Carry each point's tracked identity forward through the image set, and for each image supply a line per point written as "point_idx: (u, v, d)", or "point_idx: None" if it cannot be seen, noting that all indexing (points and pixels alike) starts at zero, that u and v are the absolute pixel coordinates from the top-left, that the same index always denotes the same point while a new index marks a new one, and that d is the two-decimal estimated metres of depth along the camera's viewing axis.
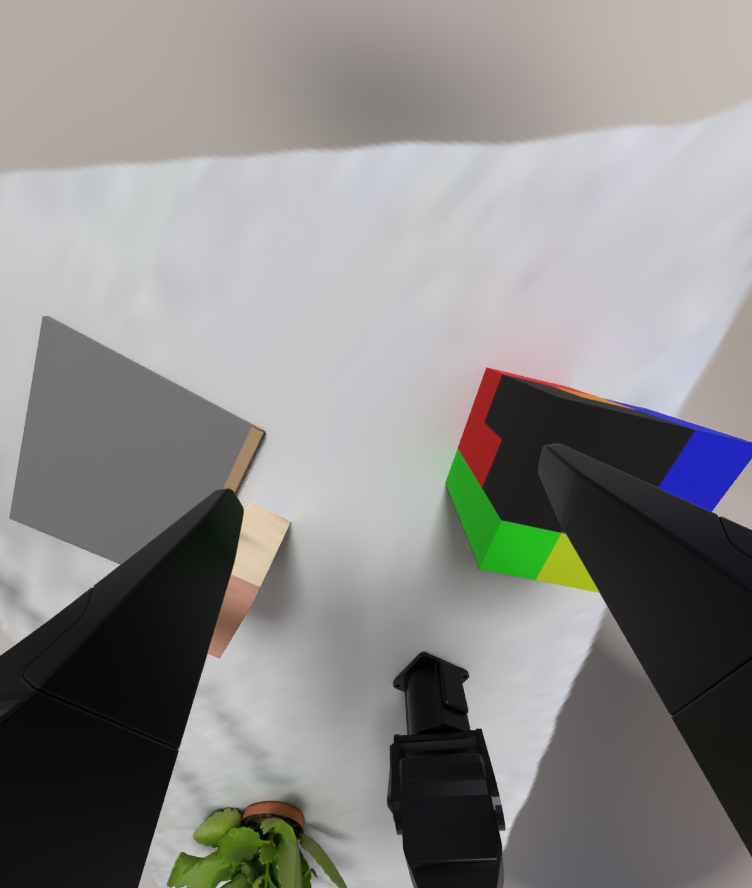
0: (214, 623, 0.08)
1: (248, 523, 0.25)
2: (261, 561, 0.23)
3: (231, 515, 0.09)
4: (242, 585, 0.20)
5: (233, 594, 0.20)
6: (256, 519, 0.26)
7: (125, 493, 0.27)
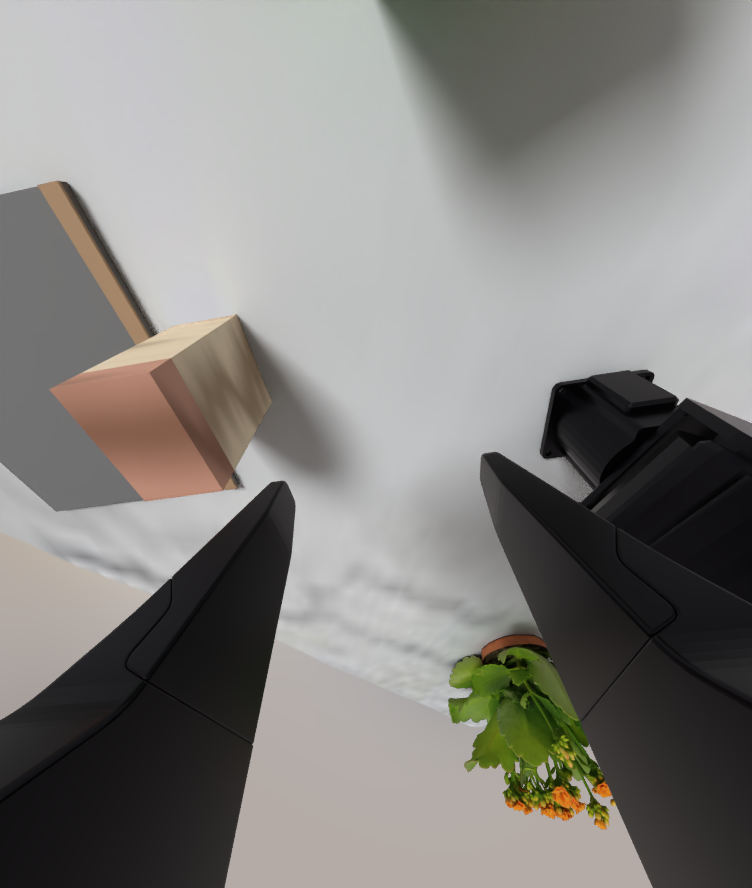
0: (277, 617, 0.07)
1: (166, 334, 0.17)
2: (180, 344, 0.14)
3: (287, 508, 0.09)
4: (138, 366, 0.12)
5: (118, 375, 0.11)
6: (180, 329, 0.17)
7: None
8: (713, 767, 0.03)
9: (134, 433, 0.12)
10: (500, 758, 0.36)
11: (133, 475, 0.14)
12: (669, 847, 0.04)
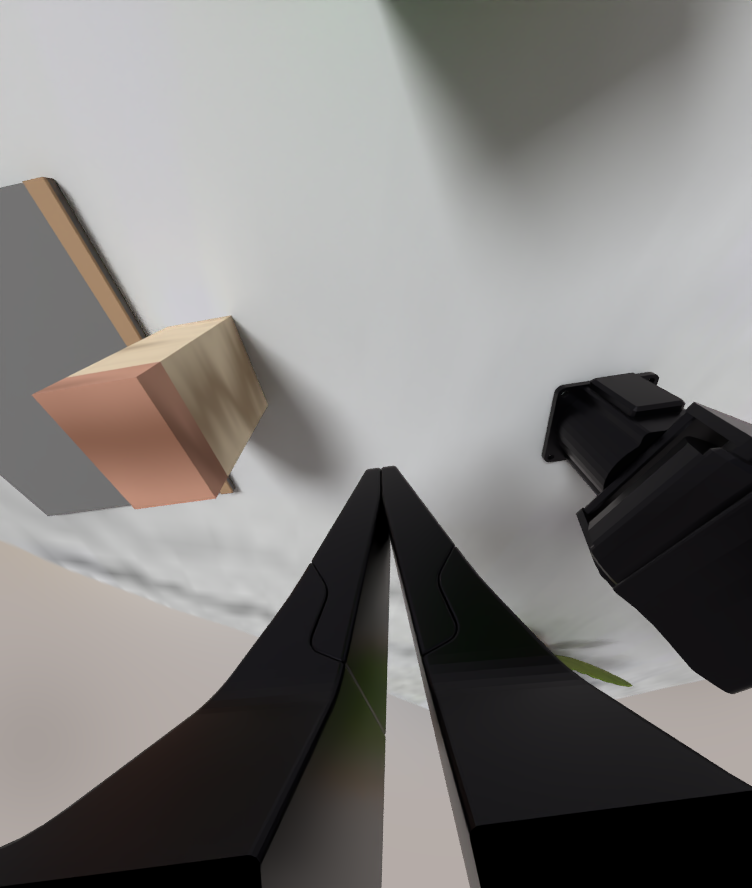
0: (388, 606, 0.07)
1: (157, 336, 0.16)
2: (170, 347, 0.13)
3: None
4: (125, 370, 0.11)
5: (104, 380, 0.11)
6: (172, 331, 0.17)
7: None
8: (449, 782, 0.03)
9: (122, 439, 0.12)
10: None
11: (122, 483, 0.13)
12: (464, 855, 0.04)
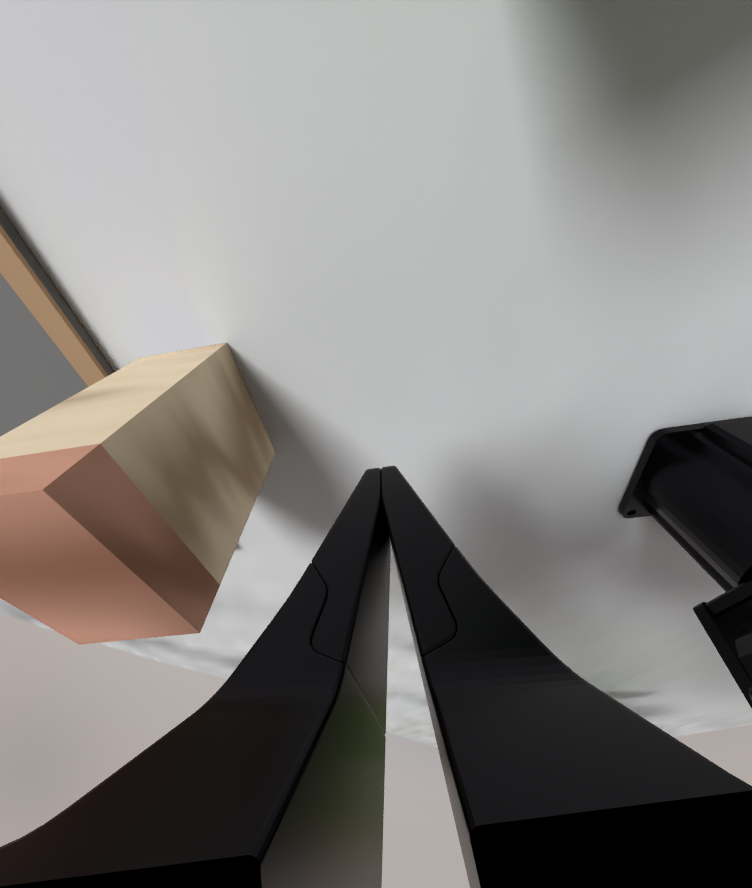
0: (388, 606, 0.07)
1: (121, 376, 0.11)
2: (129, 405, 0.09)
3: None
4: (38, 461, 0.07)
5: None
6: (144, 367, 0.12)
7: None
8: (449, 781, 0.03)
9: (39, 570, 0.07)
10: None
11: (52, 618, 0.09)
12: (464, 855, 0.04)
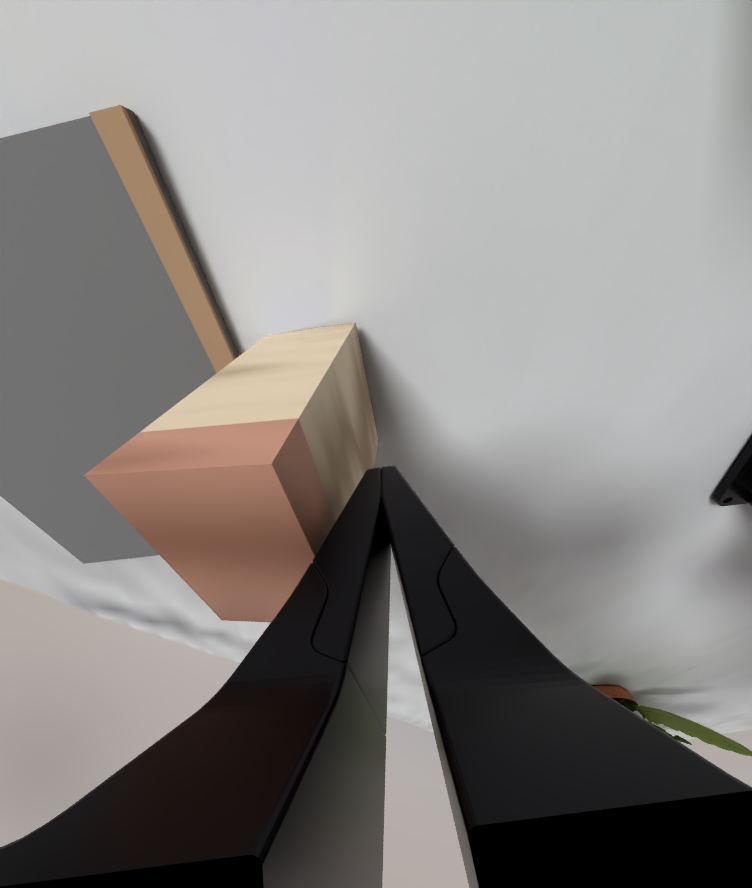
0: (388, 606, 0.07)
1: (261, 353, 0.11)
2: (297, 380, 0.08)
3: None
4: (241, 433, 0.06)
5: (209, 459, 0.06)
6: (279, 344, 0.12)
7: None
8: (448, 781, 0.03)
9: (223, 546, 0.07)
10: None
11: (210, 593, 0.08)
12: (463, 855, 0.04)
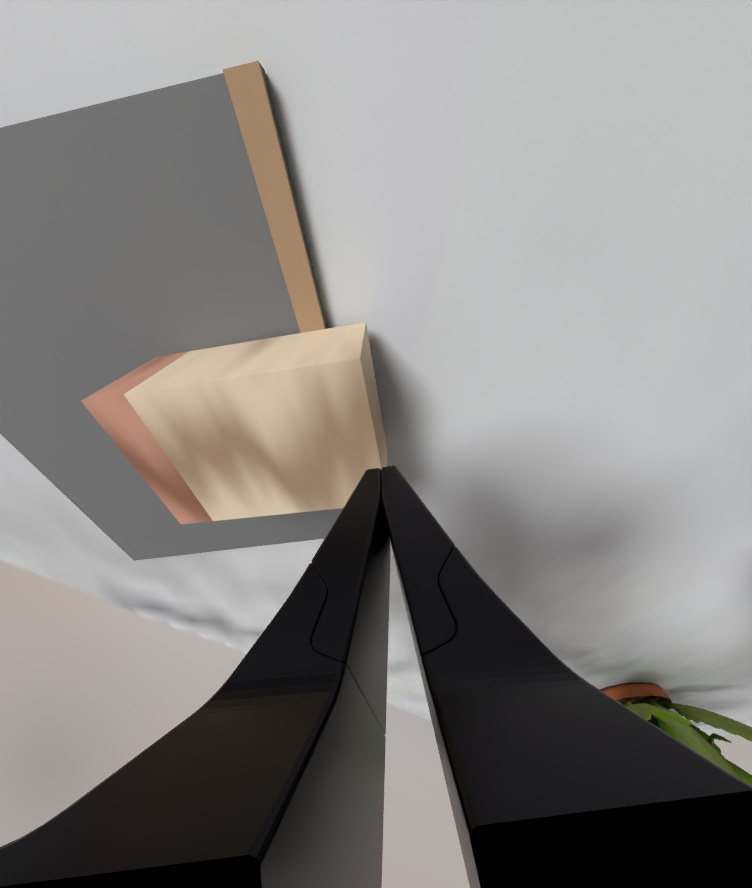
0: (388, 606, 0.07)
1: (299, 338, 0.11)
2: (196, 375, 0.10)
3: None
4: (134, 381, 0.10)
5: (118, 381, 0.11)
6: (319, 338, 0.11)
7: None
8: (449, 781, 0.03)
9: None
10: None
11: None
12: (463, 856, 0.04)
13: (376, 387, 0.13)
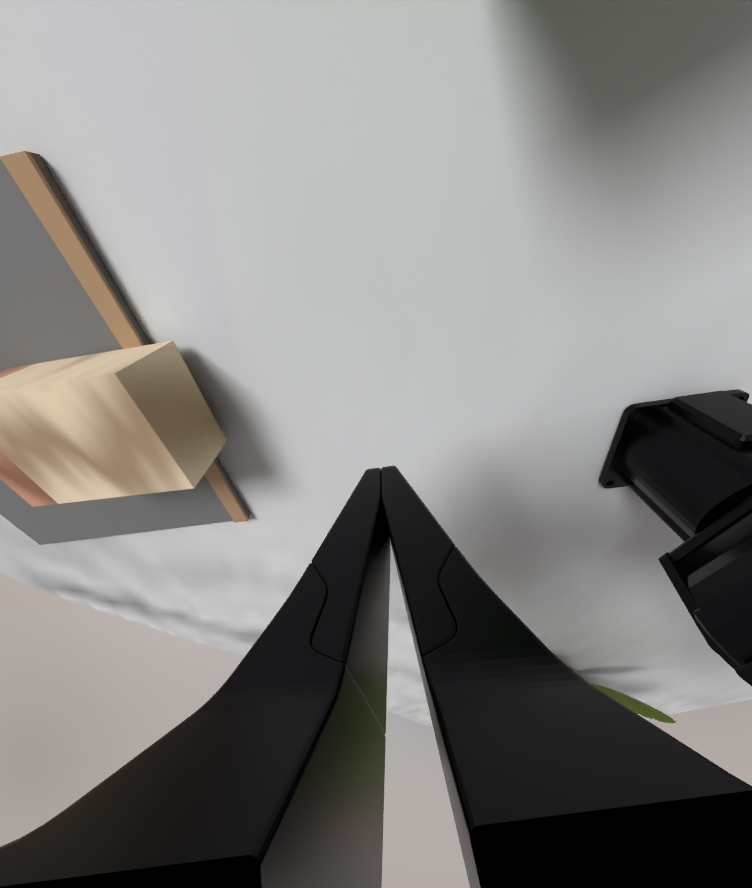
0: (388, 606, 0.07)
1: (113, 354, 0.14)
2: (8, 385, 0.13)
3: None
4: None
5: None
6: (124, 355, 0.14)
7: None
8: (449, 783, 0.03)
9: None
10: None
11: None
12: (463, 855, 0.04)
13: (198, 393, 0.16)
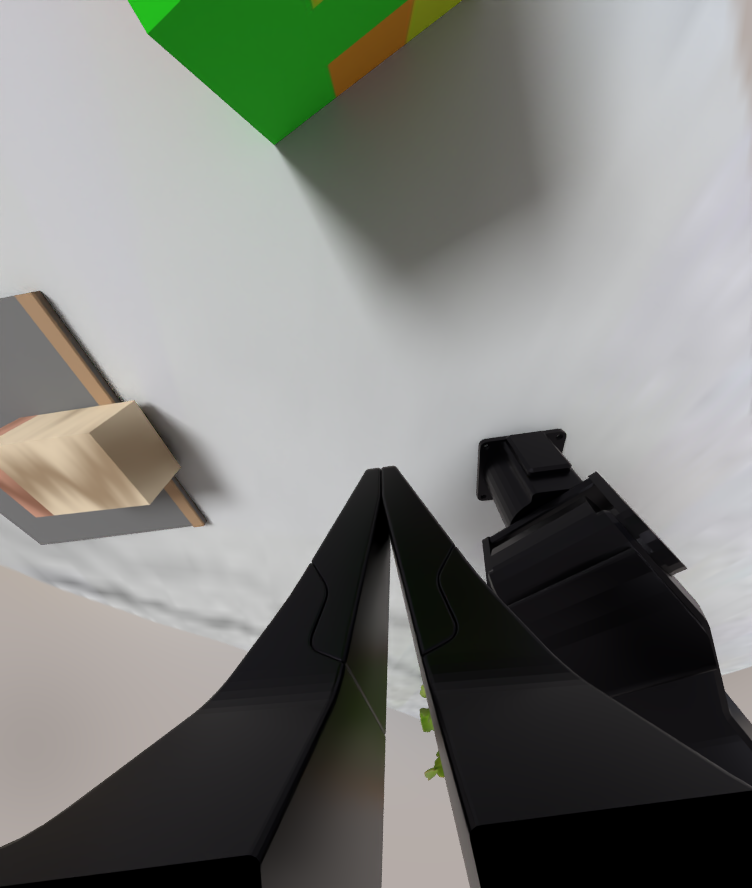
0: (388, 606, 0.07)
1: (91, 411, 0.20)
2: (19, 437, 0.19)
3: None
4: None
5: None
6: (98, 412, 0.20)
7: None
8: (449, 781, 0.03)
9: None
10: None
11: None
12: (463, 856, 0.04)
13: (155, 434, 0.22)
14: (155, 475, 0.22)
